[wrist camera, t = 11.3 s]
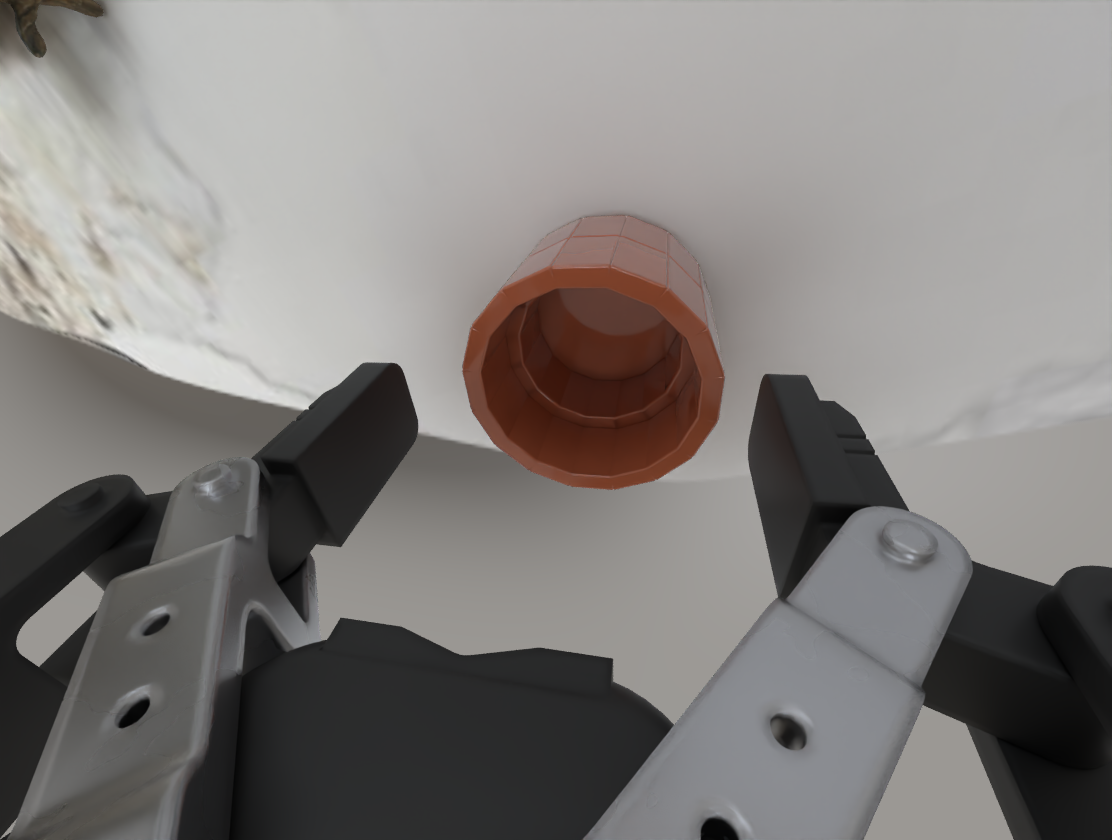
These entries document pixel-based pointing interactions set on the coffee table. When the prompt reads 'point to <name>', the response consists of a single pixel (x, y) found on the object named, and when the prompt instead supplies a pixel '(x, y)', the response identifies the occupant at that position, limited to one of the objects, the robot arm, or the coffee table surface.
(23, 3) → the eagle figurine
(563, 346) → the brown cup
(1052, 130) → the coffee table surface
